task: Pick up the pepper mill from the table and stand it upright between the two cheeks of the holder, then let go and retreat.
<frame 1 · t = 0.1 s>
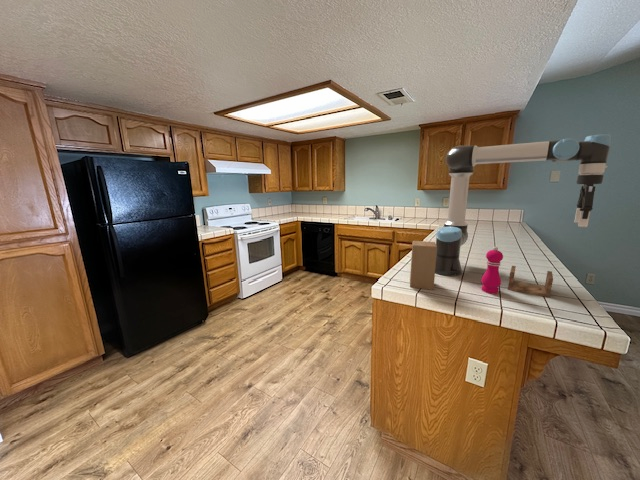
hand: (580, 224, 112), 28 cm above the worktop, fingers open, 13 cm apart
holder: (528, 289, 113), on the worktop
pepper mill: (489, 291, 112), on the worktop
wooden block: (421, 285, 120), on the worktop
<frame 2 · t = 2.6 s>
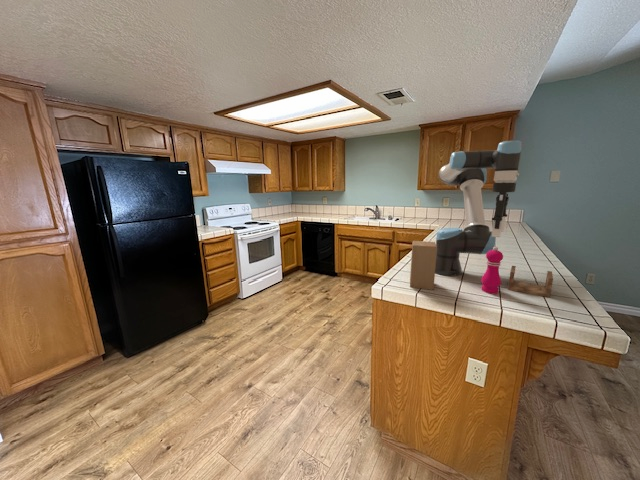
hand: (497, 234, 107), 25 cm above the worktop, fingers open, 13 cm apart
nothing on the worktop moved.
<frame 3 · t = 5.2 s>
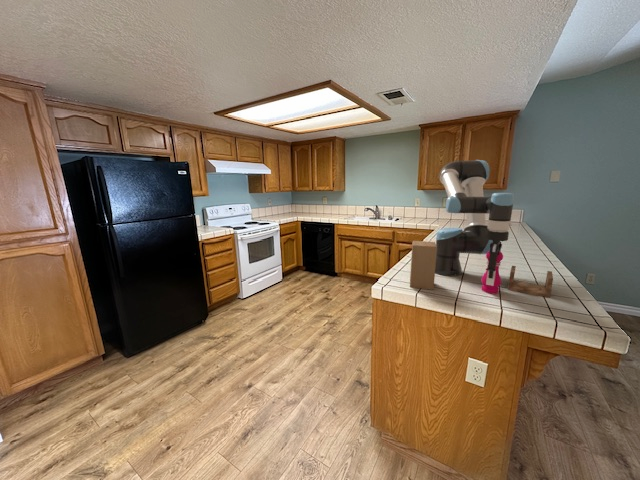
hand: (490, 282, 112), 4 cm above the worktop, fingers closed on pepper mill, 7 cm apart
pepper mill: (489, 291, 113), on the worktop, touching gripper
everything else where it was.
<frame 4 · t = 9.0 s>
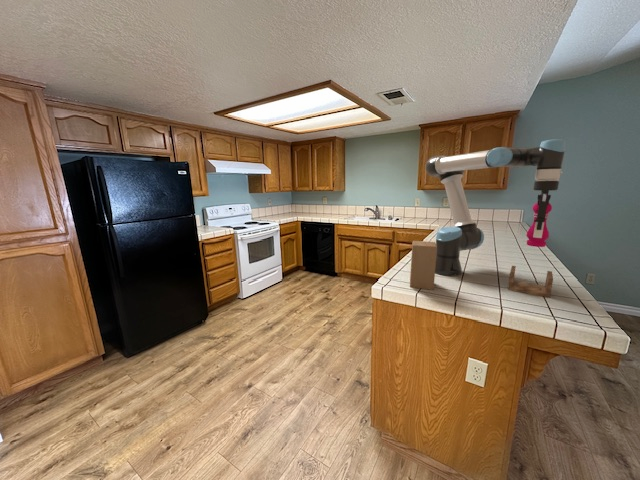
hand: (537, 235, 108), 24 cm above the worktop, fingers closed on pepper mill, 7 cm apart
pepper mill: (535, 245, 109), point 20 cm above the worktop, touching gripper
everything else where it was.
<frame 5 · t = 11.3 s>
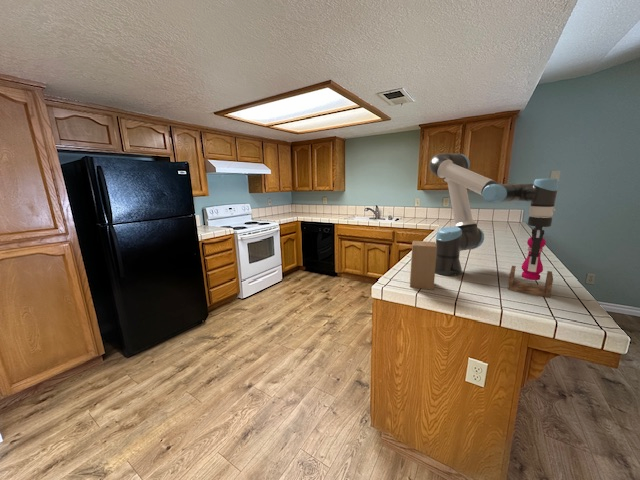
hand: (531, 268, 111), 10 cm above the worktop, fingers closed on pepper mill, 7 cm apart
pepper mill: (530, 278, 112), point 5 cm above the worktop, touching gripper
everything else where it was.
when the fingers open (7 cm above the worktop, at t = 12.9 s): pepper mill drops 1 cm, resting on holder.
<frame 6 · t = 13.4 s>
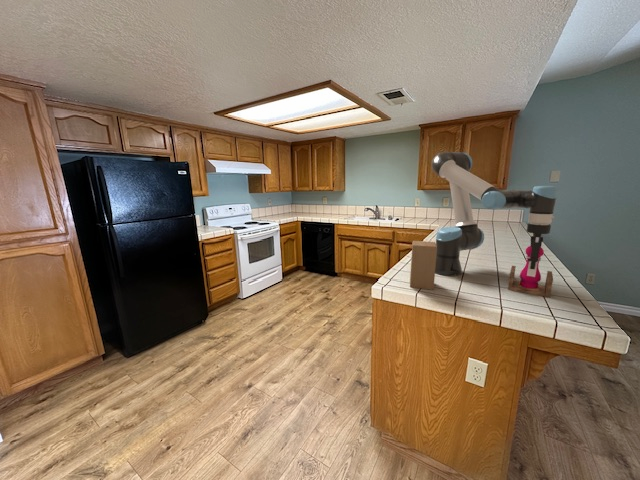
hand: (531, 271, 112), 8 cm above the worktop, fingers open, 13 cm apart
pepper mill: (528, 286, 113), point 1 cm above the worktop, touching holder
everything else where it was.
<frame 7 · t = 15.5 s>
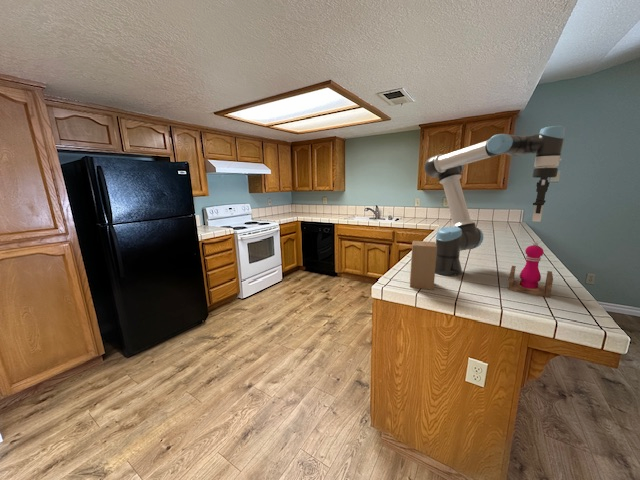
hand: (536, 219, 109), 31 cm above the worktop, fingers open, 13 cm apart
nothing on the worktop moved.
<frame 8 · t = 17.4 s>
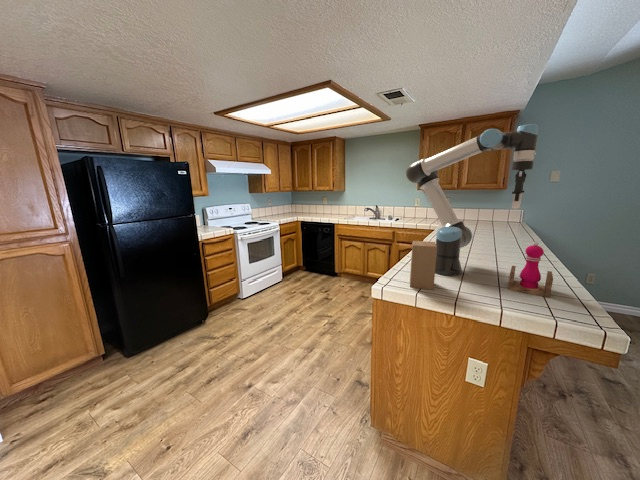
hand: (516, 207, 122), 35 cm above the worktop, fingers open, 13 cm apart
nothing on the worktop moved.
at the end: pepper mill inside the target area on the holder (0.0 cm from its centre), point 1.2 cm above the holder's base; pepper mill tilted 0°; the gripper is holding nothing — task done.
